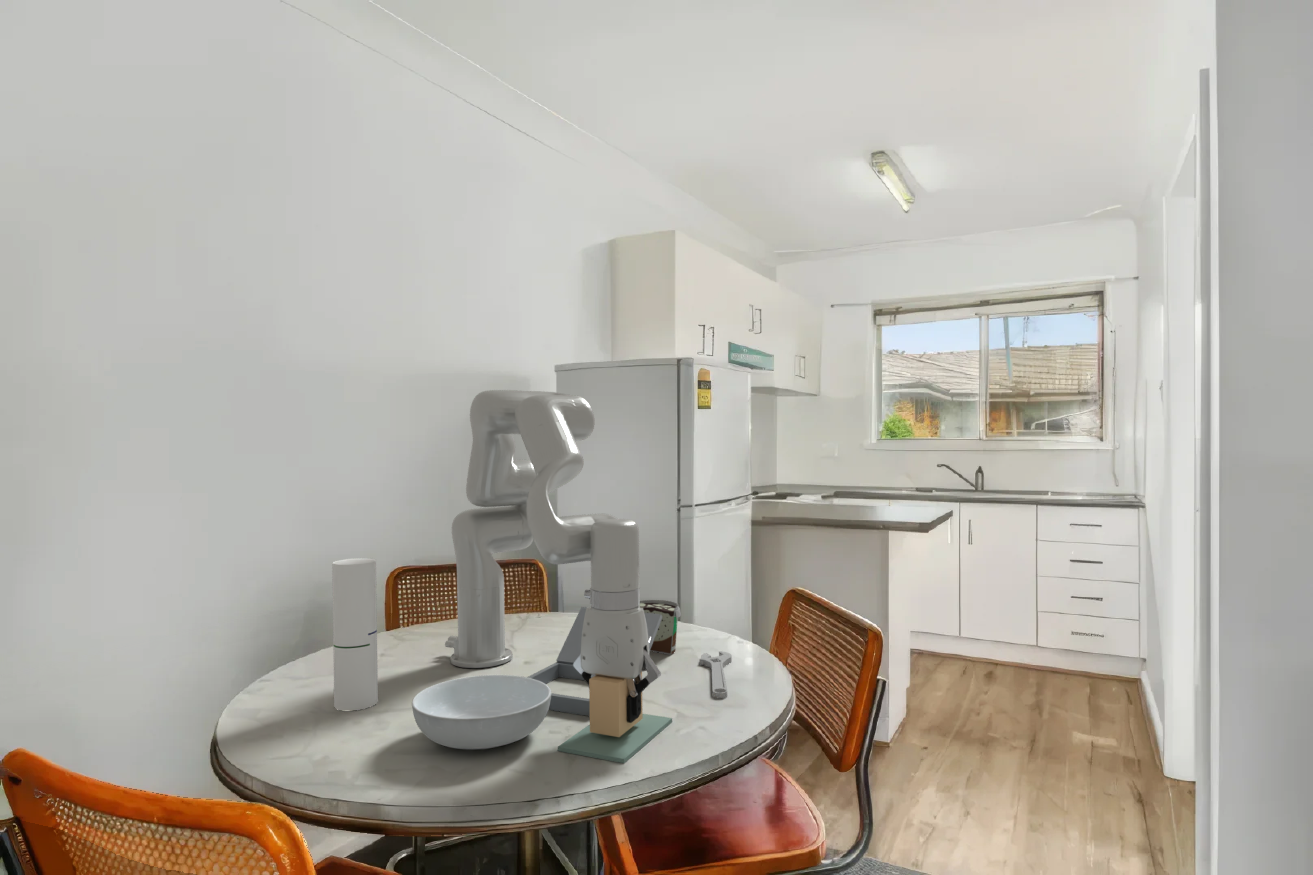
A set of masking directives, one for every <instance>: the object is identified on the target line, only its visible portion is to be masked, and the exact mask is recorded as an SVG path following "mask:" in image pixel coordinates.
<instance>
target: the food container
mask: <svg viewBox="0 0 1313 875" xmlns="http://www.w3.org/2000/svg"><path fill="white" fill-rule="evenodd" d="M640 608H643V610H644V613H654V614H661V615H662V620H661V622H660V625H659V628H658V630H657V633H656V636H655V638H654V641H653V644H652V646H651V649H650V651H653V652H652V653H657V652H659V653H658V654H663V653H664V655H670V656H672V655H674V654H675V653H676V646H677V635H678V634H677V631H678V622H679V621H678V619H679V618H680V617H681V616H682V613H681V608H680V606H679V604H678V603H677V602H675V601H672V600H664V599H645V600H644V599H641V600H640ZM674 652H675V653H674Z"/></svg>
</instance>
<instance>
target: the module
mask: <svg viewBox="0 0 1313 875" xmlns="http://www.w3.org/2000/svg"><path fill="white" fill-rule="evenodd" d="M641 677H642V678H643V672H641ZM588 691H589V694H588V695H589V698H588V699H589V700H590V716H589V725H590V732H592V733H598V734H604V735H609V736H615V737H620V736H621V735H623V734H624V733H625V732H626V731H628V730H629V729H630V728H631V727H633V726H634V725H635V724H637V723H638V722H639V721H640V720H642V719H643V714H644V712H643V691H642V692H641V714H640V715H639V717H638V718H637V719H636V720H634V721H633V722H632V723H628V722H627V697H628V696H629V689H628V686H627V679H622V678H615V677H608V676H600V675H596V676H594V677H592V678H591V679H589V685H588Z"/></svg>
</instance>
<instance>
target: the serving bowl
mask: <svg viewBox="0 0 1313 875" xmlns="http://www.w3.org/2000/svg"><path fill="white" fill-rule="evenodd" d="M527 677H528V676H527ZM527 677H526V676H520V675H511V674H509V675H508V674H484V675H483V674H482V675H473V676H465V677H459V678H455V679H450V680H446V681H443V682H438V683H436V684H433V685H430V686H429V687H426V688H424V689H422V690H421V691H420V692H418V693H417V694H416V695H415V696H414V697H413V698H412V702H411V708H412V714H413V718H414V721H415V723H416V725H417V727H418V729H419V730H420V732H422V734H423V735H425V737H426V738H428V739H429V740H430V741H432V742H433V743H436V744H438V745H442V746H445V747H448V748H451V749H459V750H487V749H492V748H497V747H502V746H505V745H509V744H513V743H514V742H517V741H519V740H522V739H524V738H526V737H528V735H530V734H531V733H533V732H534V731H535V730H536V729H538V728H539V726H540V725H541V724H542V722H543V721H544V720H545V719H546V716H547V714H548V712H549V710H548V709H549V705H550V700H551V693H552V690H551V687H549V685H547V684H544V683H543V682H540V681H538V680H535V679H531V678H527Z"/></svg>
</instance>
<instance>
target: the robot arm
mask: <svg viewBox="0 0 1313 875" xmlns="http://www.w3.org/2000/svg"><path fill="white" fill-rule="evenodd" d="M469 421H470V426H471V432H472V433H471V435H472V442H471V443H472V446H471V450H470V455H469V456H470V457H469V458H470V459H469V464H468V469H467V470H468V471H467V475H466V476H467V478H466V486H465V487H466V488H465V493H466V498H467V500H468V501H469V503H471V504H472V505H473V506H475V507H476V506H477V508H471V509H466V510H463V511H461V512H459V513H458V514H457V515H456V516H455V517H454V519H453V521H452V523H451V538H452V543H453V548H454V554H455V555H454V556H455V562H456V587H457V589H456V590H457V636H456V635H450V636H448V638H447V640H446V641H445V642H444V646H445V647H446V648H452V649H453V653H452V654H451V656H450V663H451V664H452V665H453V666H456V667H460V668H464V669H479V668H480V669H482V668H489V667H490V668H491V667H495V666H499V665H504V664H506V663H508V662H510V661H511V660H512V658H514V657H513V651H512V650H511V649H510V648H507V647H506V643H505V642H506V639H505V638H506V637H505V636H506V634H505V633H506V632H505V577H504V572H503V569H502V568H501V566H500V564H499V563H498V562H497V561H496V560H495V559H494V556H493V554H498V553H504V552H513V551H515V552H516V551H520V550H525V549H527V548H528V547H530V546H531V545H532V543H533V542H534V544H535V546H536V548H537V550H538V552H539V554H540V556H541V557H542V558H543V560H545V561H546V562H548V563H549V564H552V565H566V564H574V563H575V564H576V563H582V562H590V588H589V589H585V590H584V592H583V595H584V598H585V599H589V604H590V606H587V607H588V608H586V612H585V617H584V623H583V629H582V639H581V654H580V655H579V657H578V658H577V659H576V661H575V662H574V664H573V666H574V668H575V669H576V670H577V671H578V672H579V673H580V674H582V677H583V678H584V680H583V681H585V682H586V684H587V685H588V686H589V679H591V678H592V677H594V676H596V675H600V676H608V677H615V678H622V679H627V686H628V689H629V696H628V697H627V722H628V723H632V722H633V721H634V720H636V719H637V718H638V717H639V715H640V714H641V692H642V693H643V692H644V691H645V690H646V688H648V687H649V685H651V684H652V683H653V682H654V681H656V680H657V679H659V678H660V677H661V675H662V673H661V671H660V669H659V667H658V666H657V665H656V663H655V662H654V660H653V659H652V658H651V655H650V652H649V639H648V630H647V624H646V619H645V614H644V610H643V608H640V601H641V600H640V598H641V595H640V592H641V591H640V588H641V587H640V531H639V526H638V524H637V523H636V522H635V521H634V520H632V519H628V518H627V519H626V518H618V517H616V516H614V515H613V514H609V513H592V514H591V513H590V514H575V515H562V516H557V515H556V514H555V511H554V508H553V506H552V504H551V501H550V496H549V495H550V493H552V492H554V491H556V490H558V489H559V488H561V487H563V486H564V485H567V484H568V483H570V482H572V481H573V480H574V479H575V478H576V477H577V476H579V474H580V473H581V471H582V470H583V467H584V458H583V455H582V452H581V451H580V448H579V446H578V444H577V441H578V442H579V441H585V440H586V439H588V438H590V436H591V435H592V434H593V431H594V429H595V414H594V410H593V409H592V407H591V405H590V403H589V402H588V401H587V400H586V399H585V398H584V397H582V396H580V395H573V394H567V393H561V392H556V391H544V390H543V391H535V390H533V391H532V390H511V389H507V390H506V389H494V390H493V389H492V390H491V389H490V390H484V391H481V392H479V393H477V394H476V395H475V397H474V398H473V399H472V401H471V405H470V408H469ZM514 435H520V437H521V439H522V441H523V442H522V443H523V445H524V447H525V449H526V450H525V451H526V452H527V454H528V457H529V459H530V460H529V459H528V460H527V459H514V457H515V452H516V440H515V437H514ZM478 507H479V508H478ZM645 671H646V673H647V674H646V676H645V677H643V676H642V677H641V672H642V673H643V672H645Z"/></svg>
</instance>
